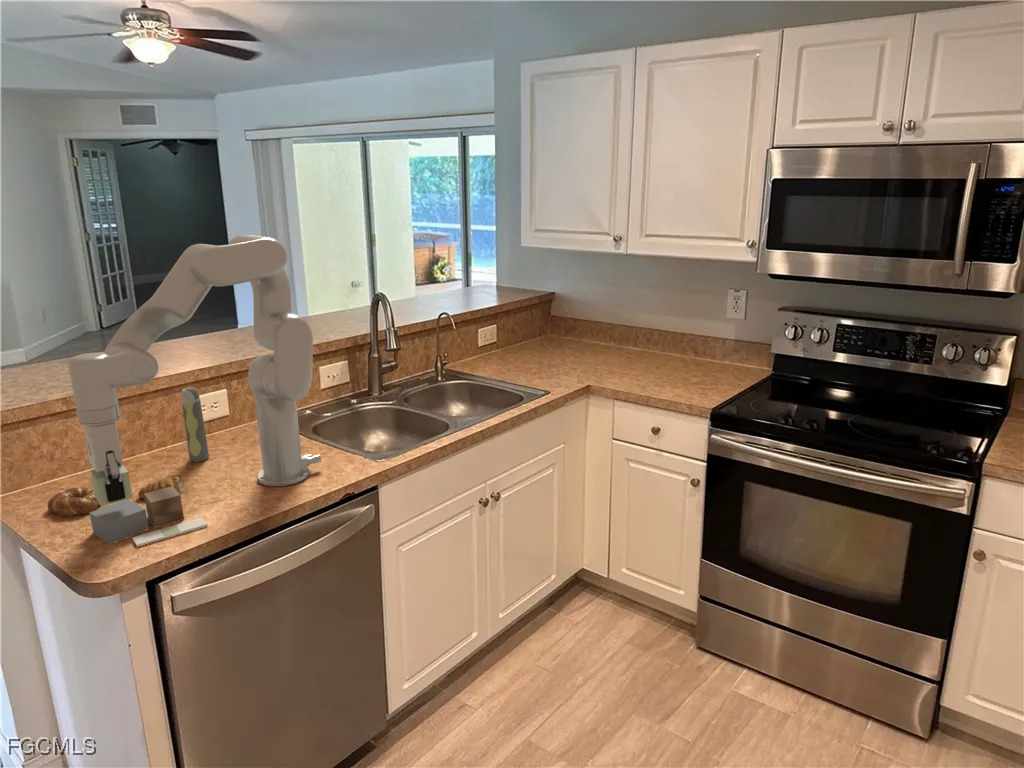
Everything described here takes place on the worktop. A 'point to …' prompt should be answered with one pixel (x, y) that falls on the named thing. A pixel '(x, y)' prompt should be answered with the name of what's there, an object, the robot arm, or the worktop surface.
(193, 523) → the card
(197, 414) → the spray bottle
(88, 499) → the pretzel
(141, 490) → the pastry
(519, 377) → the worktop surface
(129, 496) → the sage block
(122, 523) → the base block
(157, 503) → the walnut block
